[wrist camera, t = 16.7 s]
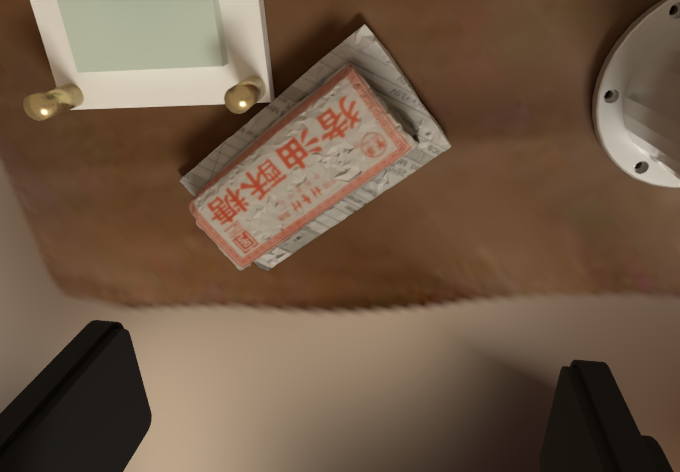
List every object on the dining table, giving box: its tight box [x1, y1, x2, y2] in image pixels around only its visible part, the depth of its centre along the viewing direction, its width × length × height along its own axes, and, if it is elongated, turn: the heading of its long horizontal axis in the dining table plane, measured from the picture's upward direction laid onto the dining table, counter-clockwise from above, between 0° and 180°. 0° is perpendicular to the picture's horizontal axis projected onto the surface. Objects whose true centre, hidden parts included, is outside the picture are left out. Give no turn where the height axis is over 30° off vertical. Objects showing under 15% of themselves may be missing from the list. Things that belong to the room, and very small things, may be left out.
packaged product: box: [180, 24, 451, 271], centre depth 35 cm, size 18×5×10 cm
